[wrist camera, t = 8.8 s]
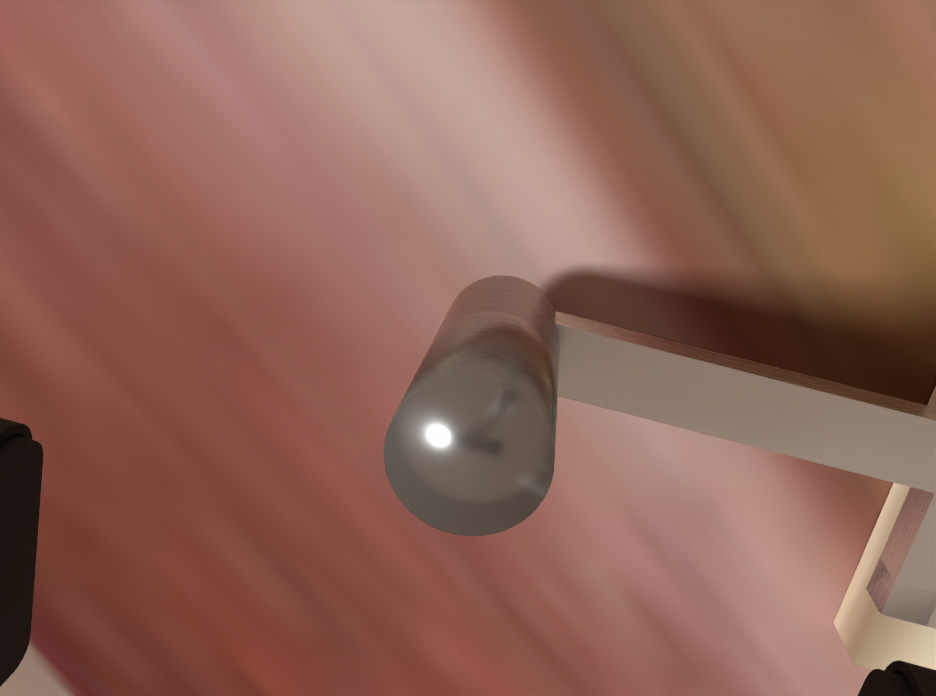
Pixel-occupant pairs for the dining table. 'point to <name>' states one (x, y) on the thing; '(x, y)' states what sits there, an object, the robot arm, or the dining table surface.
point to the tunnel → (858, 617)
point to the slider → (644, 395)
